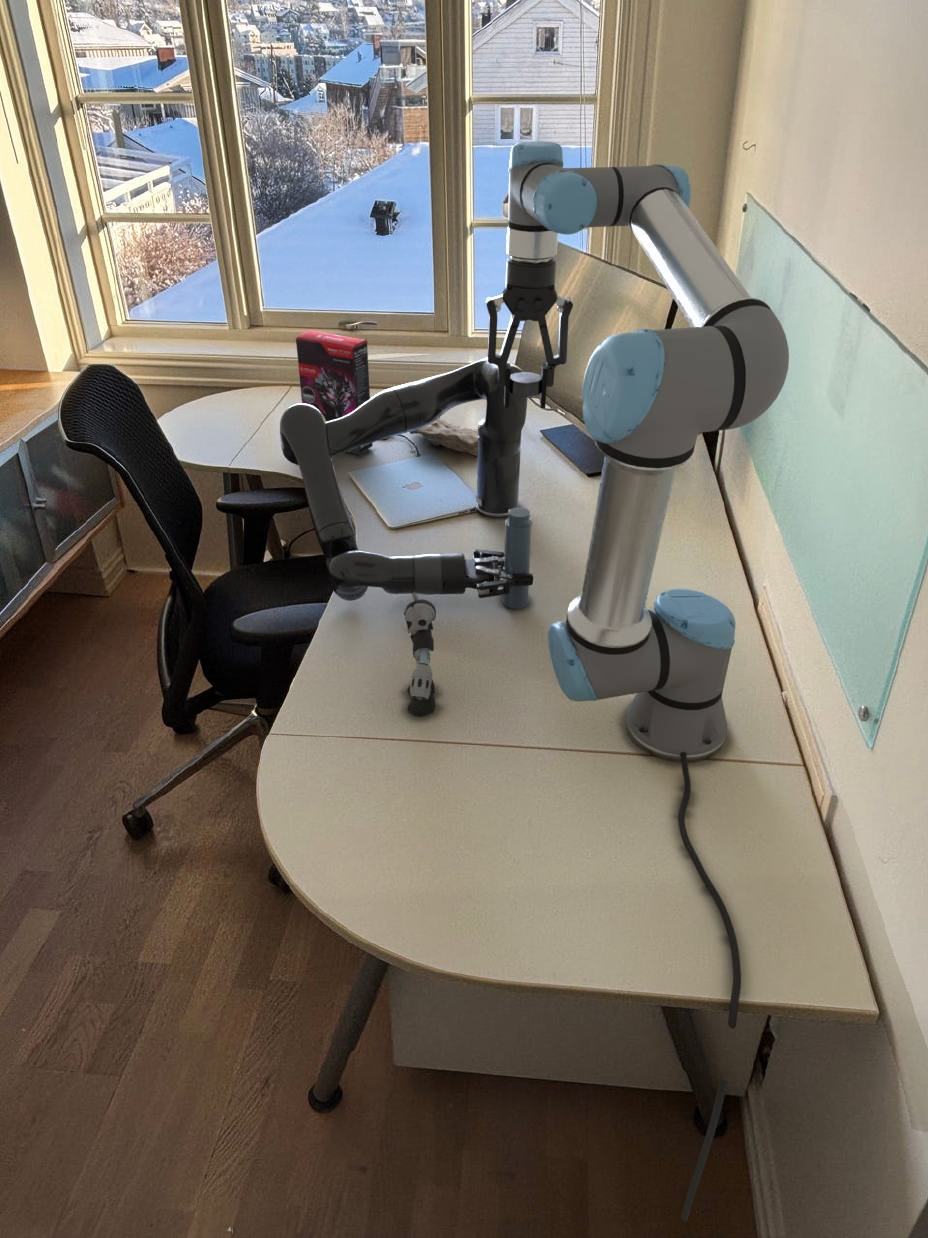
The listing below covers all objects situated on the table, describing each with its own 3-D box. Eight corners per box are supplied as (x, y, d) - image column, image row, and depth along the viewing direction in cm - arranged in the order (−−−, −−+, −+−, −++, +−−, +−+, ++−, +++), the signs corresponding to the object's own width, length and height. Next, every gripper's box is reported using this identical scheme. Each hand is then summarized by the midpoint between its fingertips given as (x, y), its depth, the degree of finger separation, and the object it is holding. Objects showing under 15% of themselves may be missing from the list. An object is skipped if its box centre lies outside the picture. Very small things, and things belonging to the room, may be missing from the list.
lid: (505, 394, 149) (505, 380, 148) (514, 383, 153) (515, 370, 152) (535, 398, 148) (536, 384, 147) (545, 387, 152) (545, 374, 151)
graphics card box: (303, 443, 234) (292, 335, 219) (319, 434, 239) (310, 328, 224) (359, 456, 228) (353, 346, 212) (374, 446, 233) (369, 338, 217)
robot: (438, 740, 141) (437, 632, 129) (406, 740, 140) (402, 633, 129) (435, 663, 157) (434, 561, 146) (406, 664, 157) (403, 562, 145)
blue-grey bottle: (531, 598, 174) (537, 509, 164) (521, 611, 171) (526, 520, 160) (508, 592, 176) (512, 503, 166) (498, 604, 173) (501, 514, 162)
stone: (393, 439, 229) (398, 415, 226) (412, 430, 242) (417, 408, 240) (473, 463, 225) (479, 439, 223) (488, 453, 238) (493, 431, 236)
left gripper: (437, 571, 177) (525, 569, 178) (440, 612, 165) (535, 610, 166) (437, 537, 173) (527, 535, 174) (440, 576, 161) (537, 574, 162)
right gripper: (589, 251, 142) (577, 397, 155) (471, 250, 142) (469, 396, 155) (594, 263, 136) (582, 413, 149) (471, 262, 136) (469, 412, 149)
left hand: (530, 571), depth 170 cm, fingers closed on blue-grey bottle, 4 cm apart
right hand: (524, 404), depth 152 cm, fingers closed on lid, 5 cm apart
